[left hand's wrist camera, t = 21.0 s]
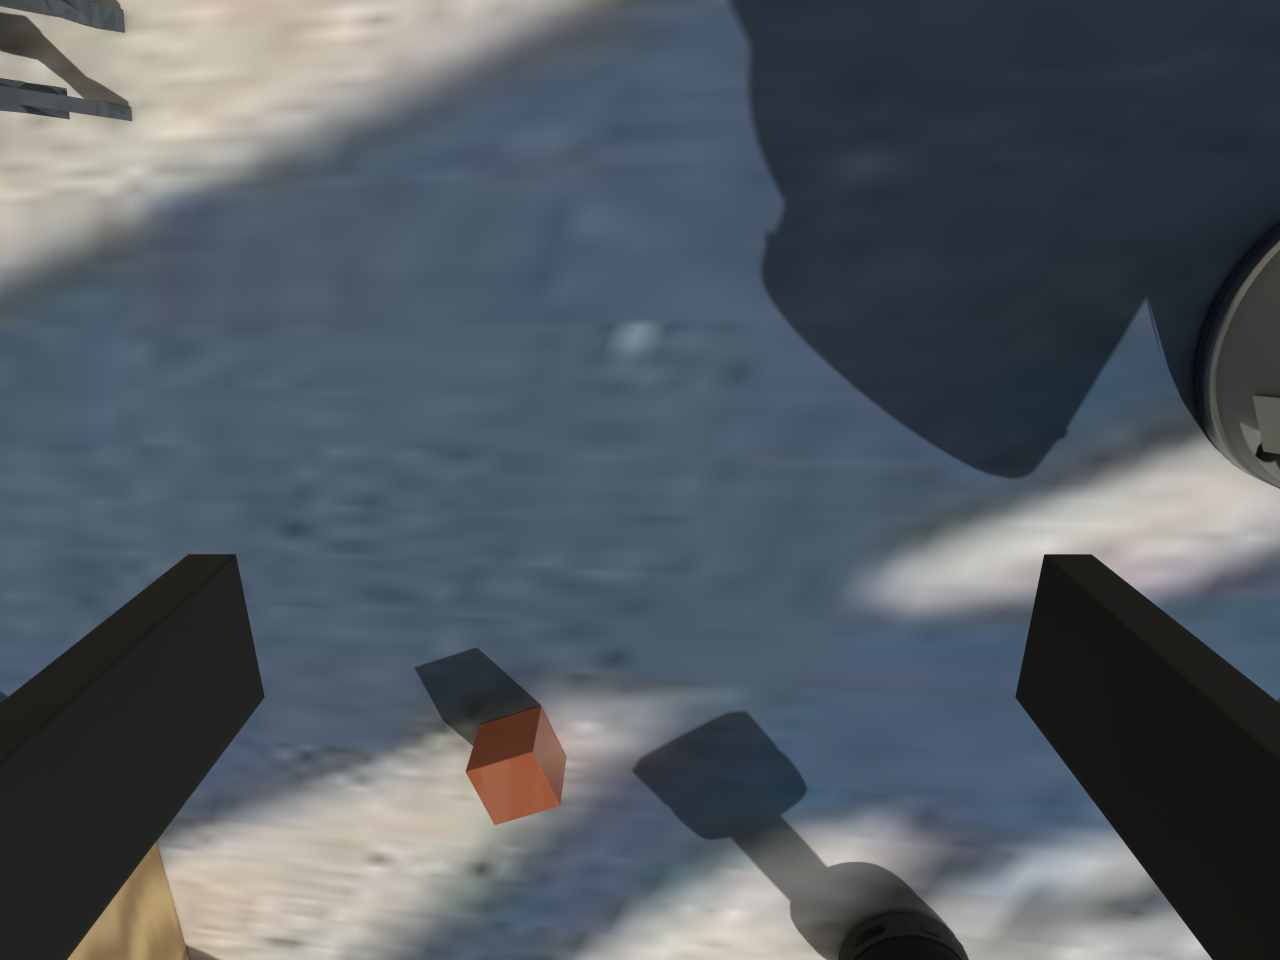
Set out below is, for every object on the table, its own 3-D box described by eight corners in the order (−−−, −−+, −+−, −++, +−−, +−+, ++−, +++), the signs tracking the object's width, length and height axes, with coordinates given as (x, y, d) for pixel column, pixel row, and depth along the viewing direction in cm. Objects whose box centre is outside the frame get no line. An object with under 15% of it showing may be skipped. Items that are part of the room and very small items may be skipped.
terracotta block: (541, 705, 45) (532, 751, 41) (566, 757, 46) (560, 806, 43) (479, 724, 46) (465, 771, 42) (506, 775, 47) (494, 825, 43)
